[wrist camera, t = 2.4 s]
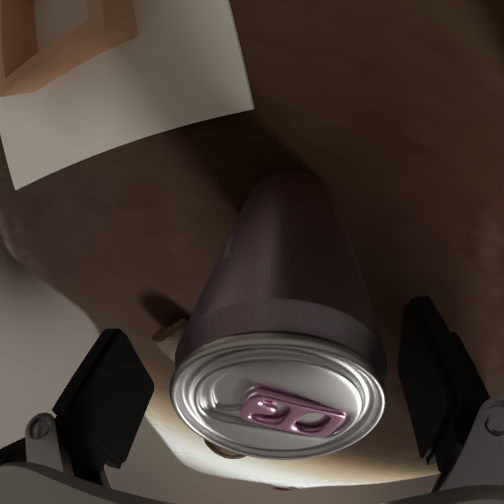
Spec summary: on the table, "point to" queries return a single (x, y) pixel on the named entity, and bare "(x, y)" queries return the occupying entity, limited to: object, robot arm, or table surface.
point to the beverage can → (283, 332)
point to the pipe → (168, 344)
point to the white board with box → (110, 75)
